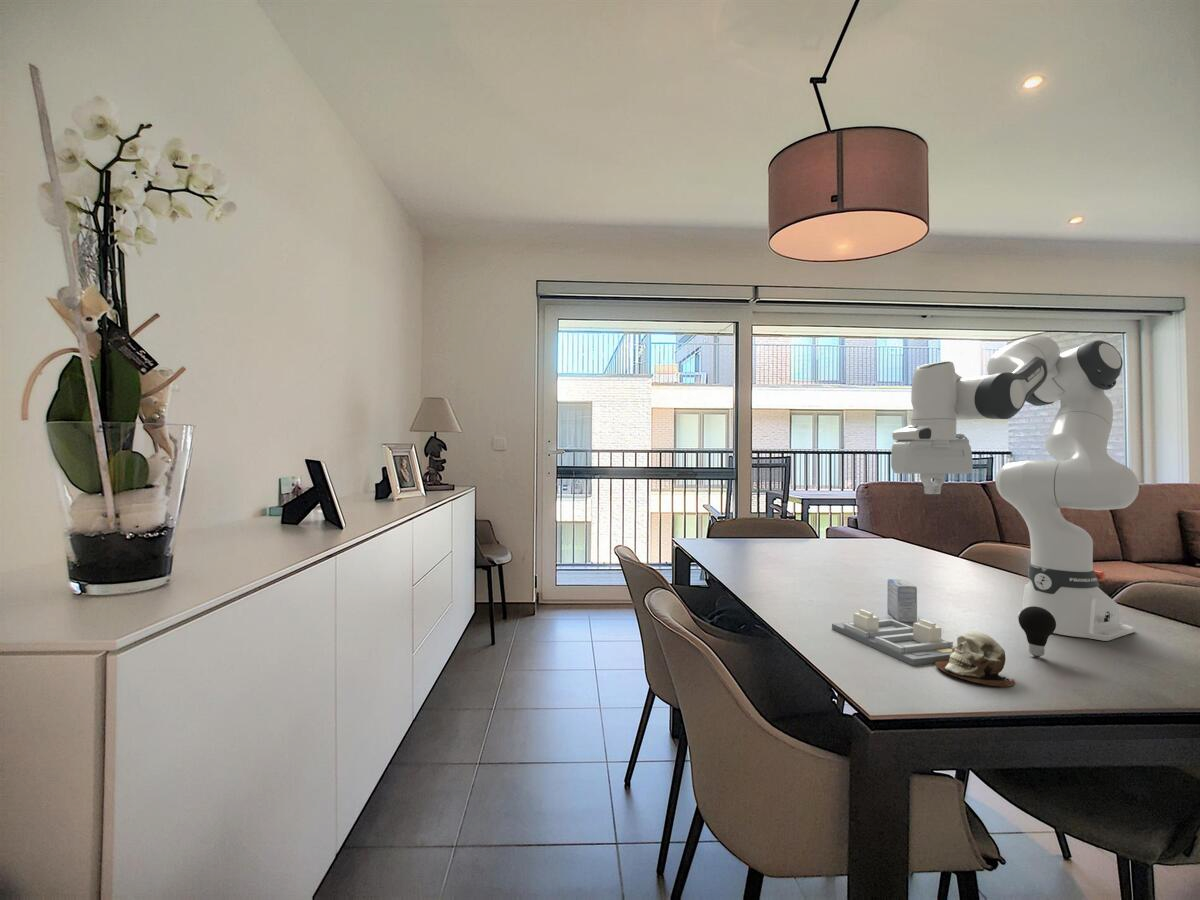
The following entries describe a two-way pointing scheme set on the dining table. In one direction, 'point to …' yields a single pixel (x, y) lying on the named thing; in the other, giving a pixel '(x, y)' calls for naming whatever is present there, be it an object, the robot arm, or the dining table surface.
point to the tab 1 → (865, 621)
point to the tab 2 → (926, 631)
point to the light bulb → (1037, 628)
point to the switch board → (898, 642)
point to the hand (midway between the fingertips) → (932, 494)
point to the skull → (976, 660)
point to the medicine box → (902, 600)
